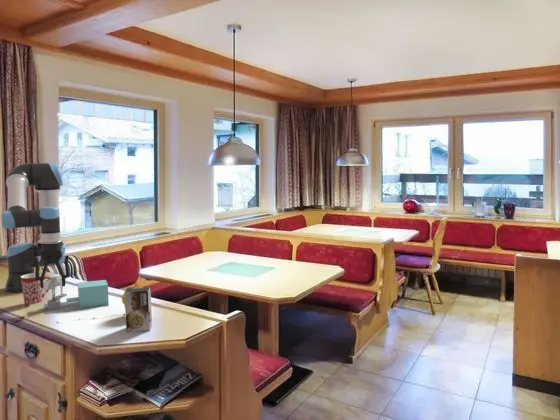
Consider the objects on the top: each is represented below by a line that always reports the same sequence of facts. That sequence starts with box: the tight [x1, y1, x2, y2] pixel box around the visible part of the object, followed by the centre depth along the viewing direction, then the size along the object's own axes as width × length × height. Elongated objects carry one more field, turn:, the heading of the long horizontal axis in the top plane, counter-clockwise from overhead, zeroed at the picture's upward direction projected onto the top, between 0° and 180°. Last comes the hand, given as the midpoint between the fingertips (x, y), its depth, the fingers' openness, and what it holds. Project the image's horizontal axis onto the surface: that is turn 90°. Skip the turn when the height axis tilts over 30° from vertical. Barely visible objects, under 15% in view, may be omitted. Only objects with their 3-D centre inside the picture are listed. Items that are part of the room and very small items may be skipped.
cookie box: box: [124, 286, 153, 333], centre depth 177 cm, size 9×6×16 cm
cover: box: [66, 279, 109, 308], centre depth 205 cm, size 10×17×9 cm, turn 116°
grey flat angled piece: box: [45, 275, 68, 300], centre depth 200 cm, size 2×11×10 cm, turn 167°
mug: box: [21, 272, 51, 307], centre depth 209 cm, size 13×9×14 cm
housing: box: [43, 298, 110, 315], centre depth 203 cm, size 15×26×6 cm, turn 116°
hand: (53, 294), depth 199 cm, fingers open, 6 cm apart
